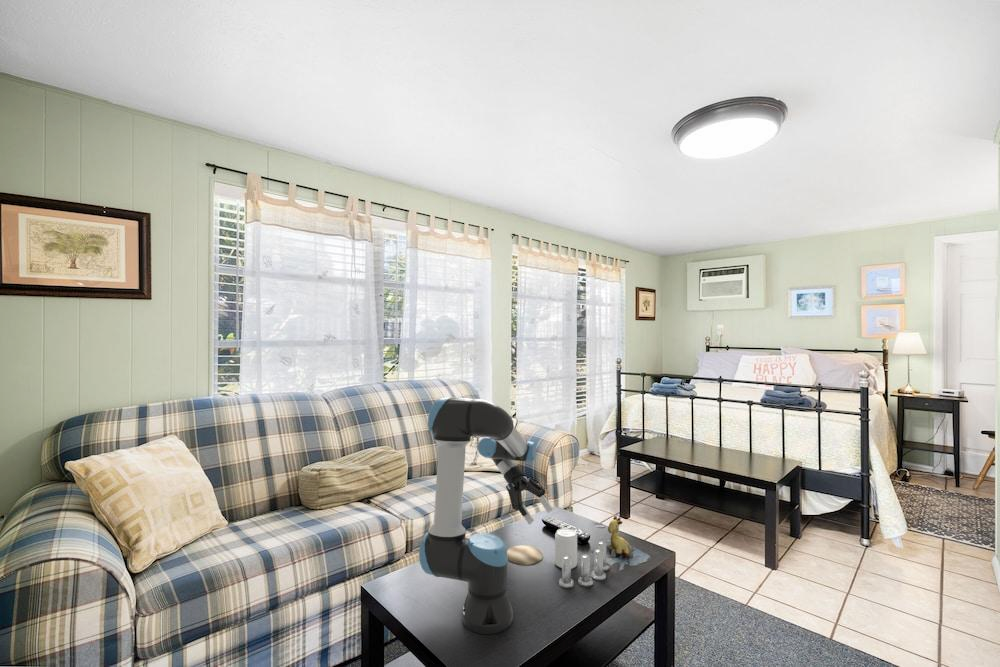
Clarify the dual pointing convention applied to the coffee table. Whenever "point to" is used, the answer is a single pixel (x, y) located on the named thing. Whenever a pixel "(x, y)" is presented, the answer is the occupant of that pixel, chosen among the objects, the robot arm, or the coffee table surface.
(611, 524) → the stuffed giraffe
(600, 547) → the posts
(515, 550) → the cork coaster
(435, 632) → the coffee table surface
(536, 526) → the coffee table surface
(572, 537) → the beverage can
